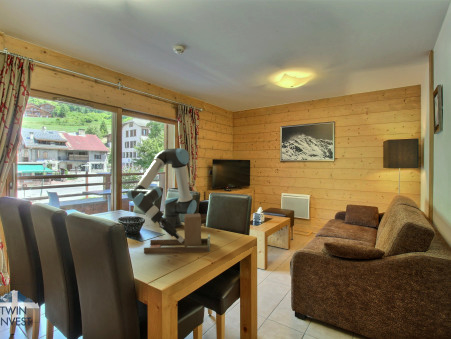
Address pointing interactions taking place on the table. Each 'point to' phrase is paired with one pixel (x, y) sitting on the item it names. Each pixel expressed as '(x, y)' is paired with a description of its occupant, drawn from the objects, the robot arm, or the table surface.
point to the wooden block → (192, 229)
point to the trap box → (157, 249)
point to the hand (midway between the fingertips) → (182, 241)
